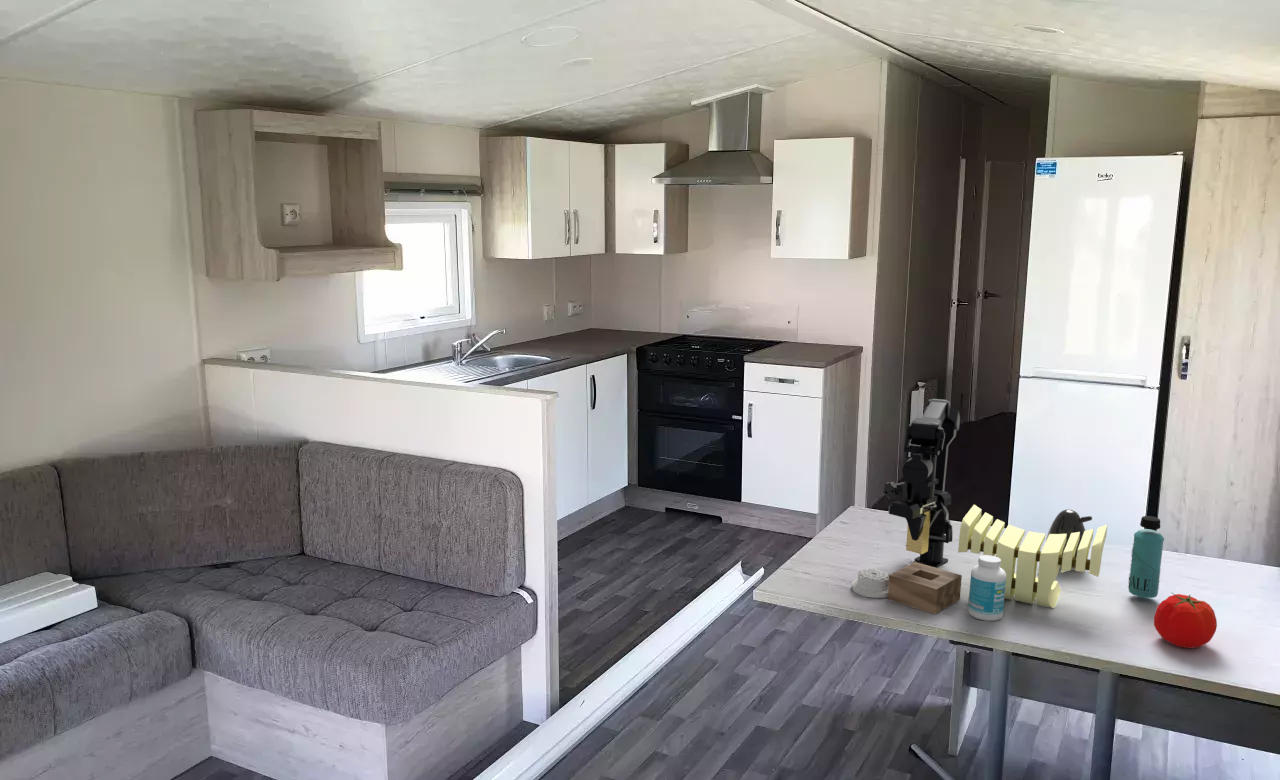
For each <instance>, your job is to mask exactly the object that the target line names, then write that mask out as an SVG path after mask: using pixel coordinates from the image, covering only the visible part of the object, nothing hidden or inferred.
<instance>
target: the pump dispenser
mask: <svg viewBox="0 0 1280 780" xmlns="http://www.w3.org/2000/svg"><path fill="white" fill-rule="evenodd" d="M1092 520H1093V516H1090V515H1089V516H1080V515H1079V513H1078V512H1076V511H1075V510H1073V509H1063V510H1062V511H1060V512H1059V513H1058V514H1057V515H1056V516H1055V518H1054V520H1053V521H1052V523H1051V525H1050V527H1049V529H1048V532H1047V535H1046V537H1045V542H1044V544H1045V543H1046V541H1047V539H1048V536H1049V534H1067V537H1066V543H1065V545H1064V548H1063V552H1064V550H1065V547H1066V545H1067V542H1068V540H1069V537H1070V535H1071V533H1076V532H1080V538H1079V542H1078V545H1077V548H1076V552H1075V556H1074V557H1077V550H1078V547H1079V545H1080V542H1081V539H1082V537H1083V534H1084V531H1086V529H1085V526H1084V523H1087V522H1089V521H1092ZM1063 552H1062V555H1063ZM1061 569H1062V566H1061V565H1059V570H1061ZM1071 571H1075V568H1073V567H1072V568H1071Z"/></svg>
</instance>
